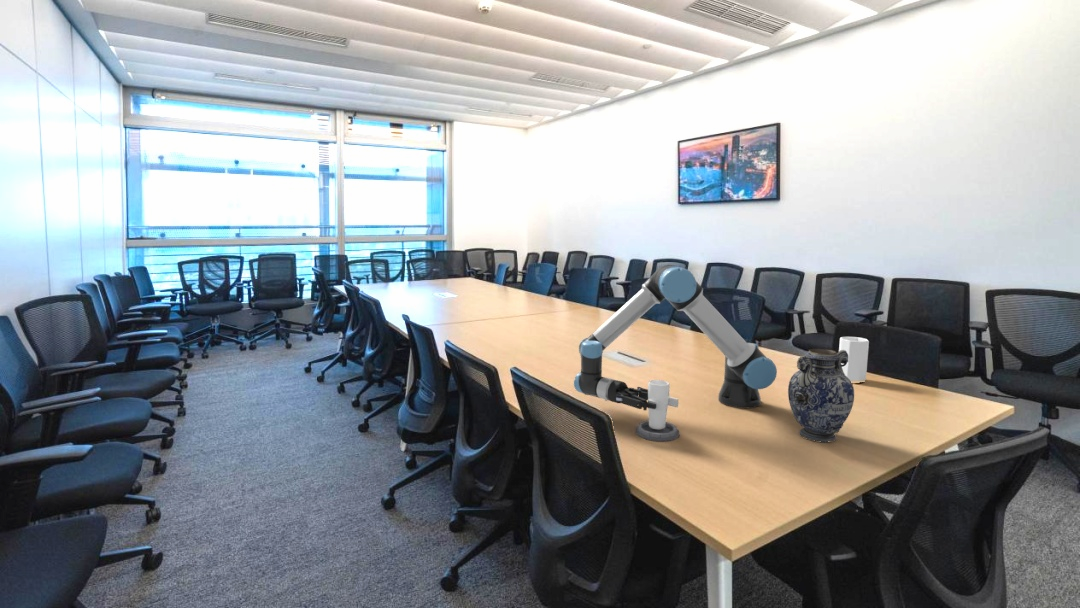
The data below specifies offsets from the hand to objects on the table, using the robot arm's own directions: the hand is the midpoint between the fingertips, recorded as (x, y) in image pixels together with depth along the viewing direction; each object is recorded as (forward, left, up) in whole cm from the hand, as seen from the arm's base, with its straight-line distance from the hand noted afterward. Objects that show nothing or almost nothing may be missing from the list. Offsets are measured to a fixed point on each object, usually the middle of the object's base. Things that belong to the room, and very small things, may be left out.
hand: (671, 405), depth 169 cm
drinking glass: (+5, -2, -9) cm, 10 cm away
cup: (-68, -91, -11) cm, 115 cm away
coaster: (+5, -2, -10) cm, 12 cm away
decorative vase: (-44, -16, -11) cm, 48 cm away
